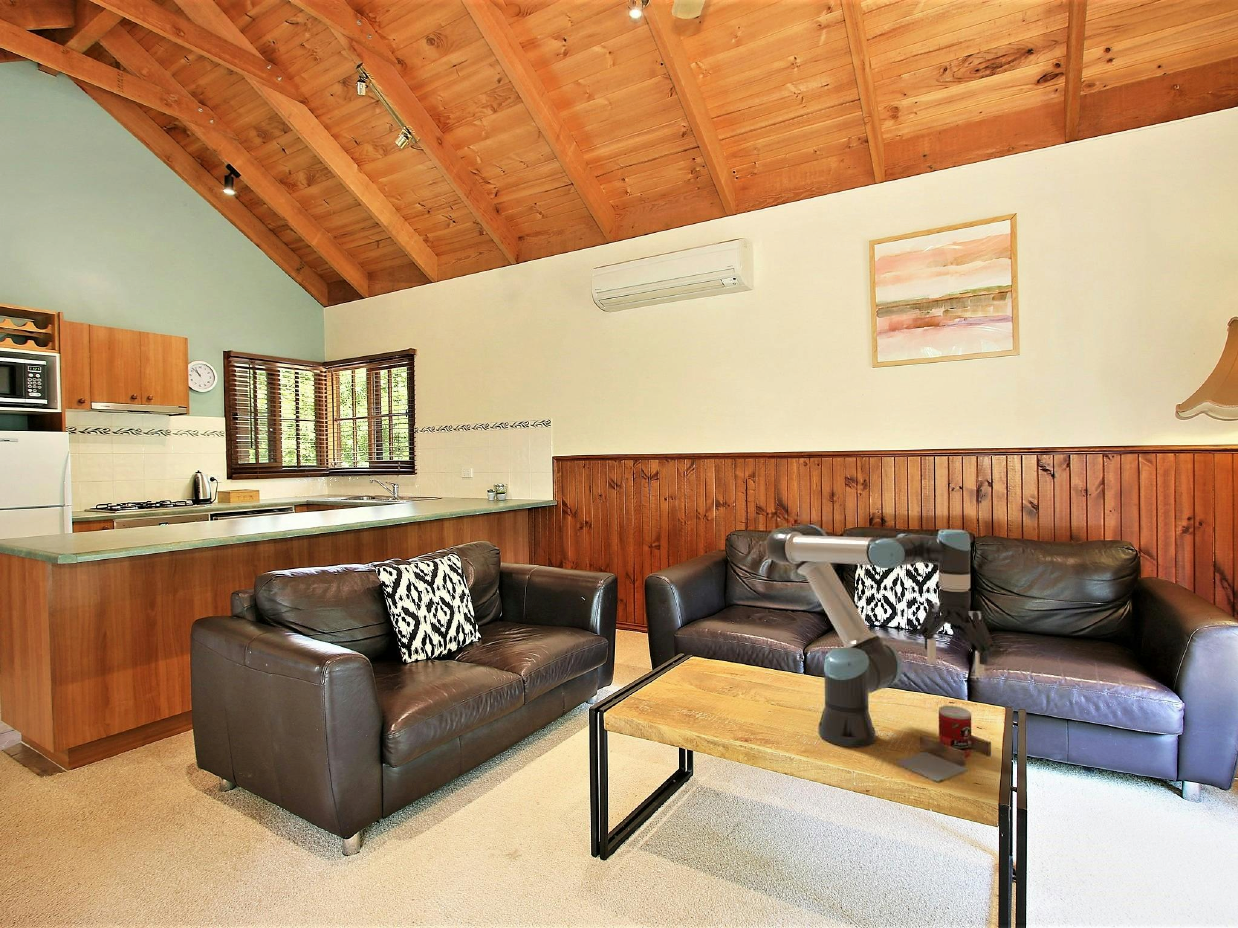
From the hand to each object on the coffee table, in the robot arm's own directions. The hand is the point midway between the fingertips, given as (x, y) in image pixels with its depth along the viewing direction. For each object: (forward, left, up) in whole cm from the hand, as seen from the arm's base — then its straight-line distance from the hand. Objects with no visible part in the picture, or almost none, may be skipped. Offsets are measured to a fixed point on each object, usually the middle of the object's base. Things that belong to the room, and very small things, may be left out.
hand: (955, 669), depth 178 cm
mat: (+2, -13, -22) cm, 26 cm away
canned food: (0, 0, -22) cm, 22 cm away
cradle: (0, 0, -22) cm, 22 cm away
